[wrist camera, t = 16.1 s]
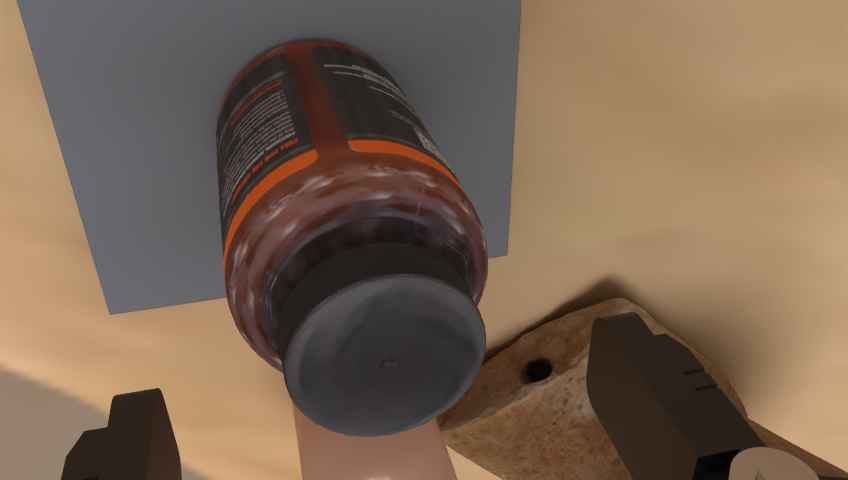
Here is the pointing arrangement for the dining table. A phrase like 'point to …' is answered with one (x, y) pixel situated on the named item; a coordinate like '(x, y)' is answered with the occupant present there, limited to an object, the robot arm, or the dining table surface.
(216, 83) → the mat
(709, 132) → the dining table surface
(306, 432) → the terracotta jar
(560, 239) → the dining table surface
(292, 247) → the supplement bottle
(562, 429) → the stone cup
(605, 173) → the dining table surface
